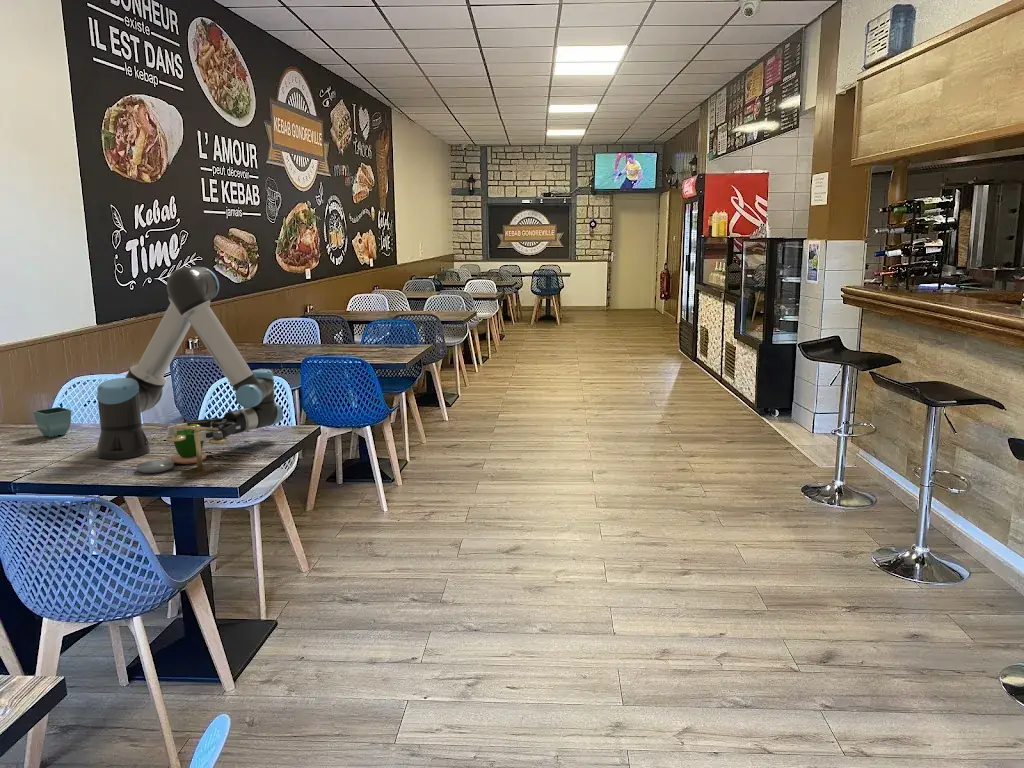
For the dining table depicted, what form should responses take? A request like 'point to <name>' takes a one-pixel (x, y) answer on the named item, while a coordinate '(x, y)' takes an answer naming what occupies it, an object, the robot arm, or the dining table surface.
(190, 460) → the terracotta dish
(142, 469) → the slate dish
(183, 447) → the bell pepper
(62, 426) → the flower pot
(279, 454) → the dining table surface
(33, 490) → the dining table surface
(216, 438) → the brass balance
